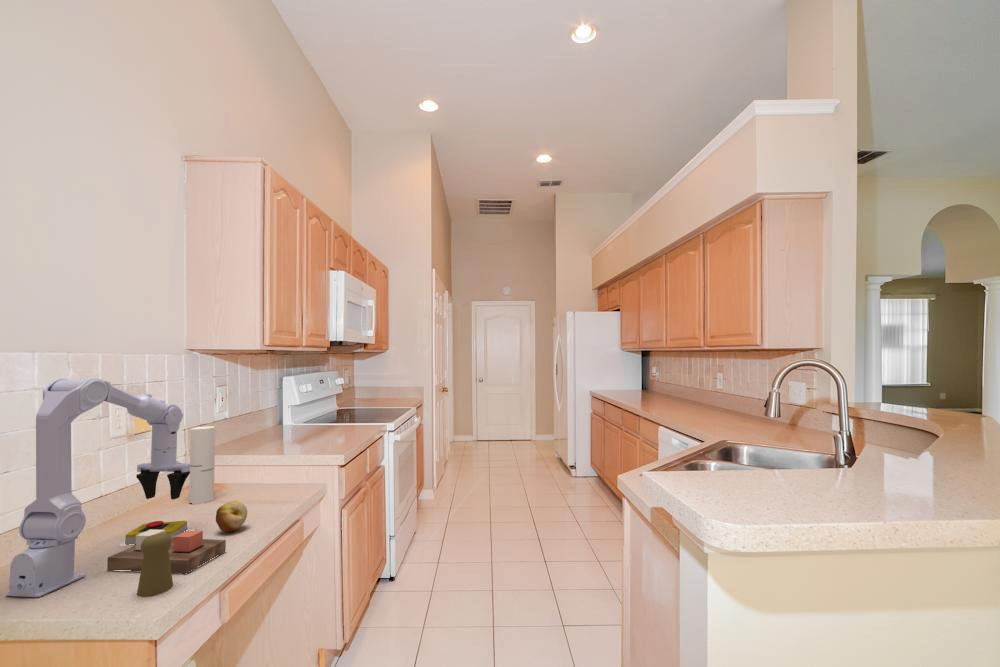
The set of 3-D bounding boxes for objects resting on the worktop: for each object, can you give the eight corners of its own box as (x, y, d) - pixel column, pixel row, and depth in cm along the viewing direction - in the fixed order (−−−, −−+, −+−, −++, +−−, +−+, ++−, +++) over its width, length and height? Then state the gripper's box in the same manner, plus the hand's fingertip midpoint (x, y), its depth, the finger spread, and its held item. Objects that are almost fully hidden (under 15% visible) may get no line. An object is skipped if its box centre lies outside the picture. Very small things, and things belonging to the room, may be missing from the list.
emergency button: (137, 519, 129) (197, 515, 132) (137, 535, 129) (196, 530, 132) (117, 531, 120) (181, 526, 123) (116, 548, 120) (181, 543, 122)
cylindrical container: (193, 499, 161) (194, 427, 163) (216, 497, 164) (217, 425, 165) (186, 505, 155) (187, 429, 156) (210, 502, 157) (211, 428, 158)
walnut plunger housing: (187, 574, 103) (187, 560, 103) (107, 570, 105) (107, 557, 105) (225, 552, 115) (225, 539, 115) (153, 549, 117) (153, 537, 117)
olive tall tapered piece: (179, 582, 99) (181, 529, 100) (160, 596, 93) (161, 540, 94) (150, 583, 99) (152, 530, 99) (129, 597, 93) (130, 541, 93)
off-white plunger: (150, 550, 108) (151, 535, 109) (135, 549, 109) (135, 535, 109) (165, 543, 112) (165, 529, 113) (150, 543, 113) (150, 529, 113)
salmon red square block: (189, 551, 107) (189, 537, 107) (173, 551, 108) (174, 536, 108) (202, 544, 111) (202, 530, 111) (187, 544, 112) (187, 530, 112)
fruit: (212, 538, 124) (213, 507, 125) (218, 528, 132) (219, 499, 132) (244, 533, 127) (245, 504, 128) (248, 524, 135) (249, 496, 135)
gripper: (199, 445, 131) (198, 494, 130) (153, 445, 133) (151, 493, 132) (178, 450, 124) (177, 502, 123) (130, 450, 126) (129, 501, 125)
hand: (162, 498), depth 127 cm, fingers open, 7 cm apart
